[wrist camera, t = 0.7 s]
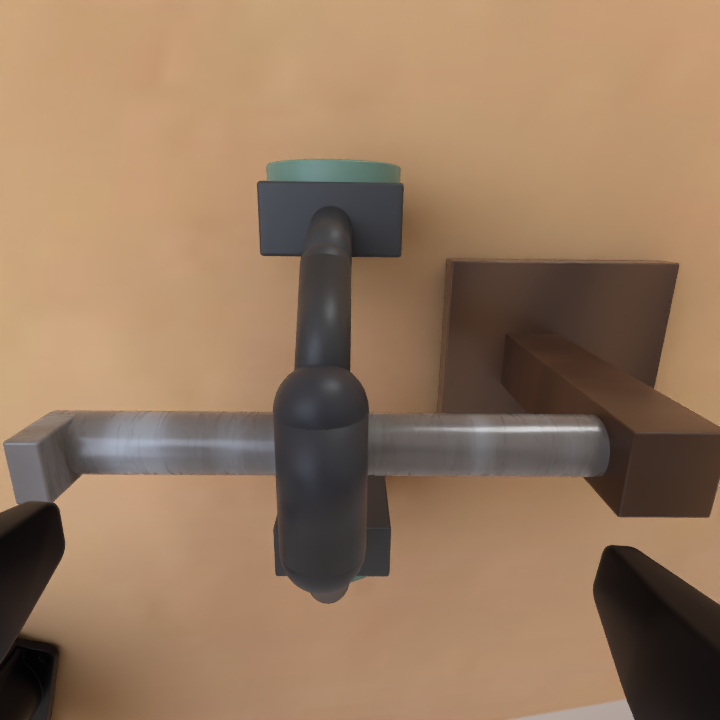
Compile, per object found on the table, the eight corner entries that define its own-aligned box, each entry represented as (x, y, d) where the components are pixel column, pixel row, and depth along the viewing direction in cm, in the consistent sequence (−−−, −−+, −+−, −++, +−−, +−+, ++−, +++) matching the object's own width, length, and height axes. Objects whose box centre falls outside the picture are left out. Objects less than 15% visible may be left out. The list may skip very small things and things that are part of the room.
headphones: (394, 174, 17) (446, 118, 7) (383, 511, 21) (408, 759, 12) (278, 172, 17) (178, 114, 7) (290, 510, 21) (235, 759, 12)
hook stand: (661, 260, 20) (981, 306, 10) (627, 435, 22) (858, 619, 12) (168, 254, 19) (-33, 295, 9) (186, 432, 22) (41, 618, 12)
